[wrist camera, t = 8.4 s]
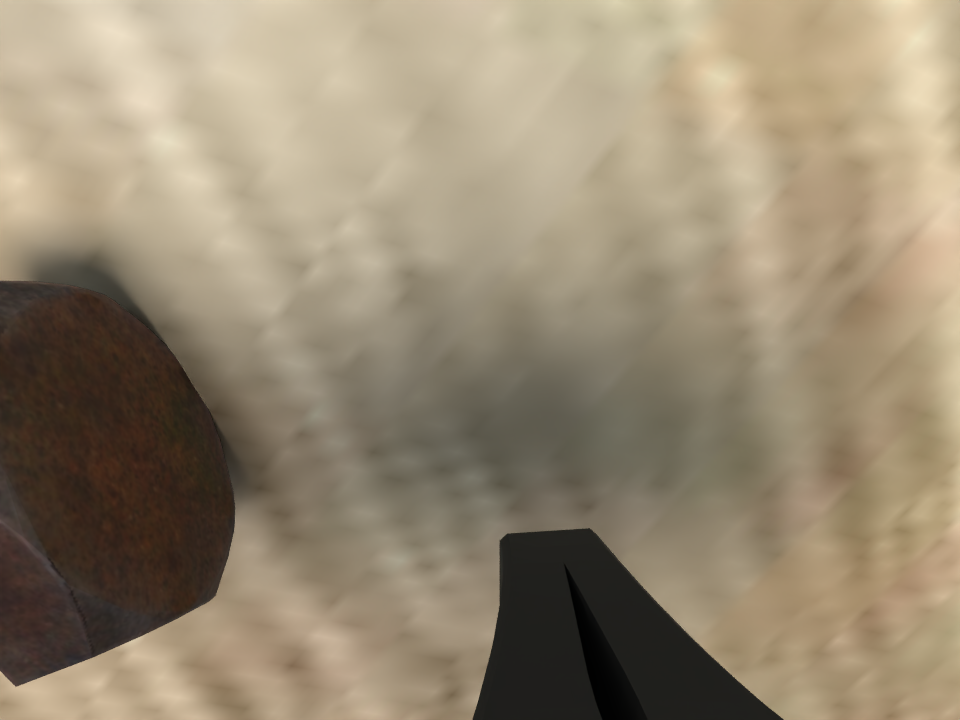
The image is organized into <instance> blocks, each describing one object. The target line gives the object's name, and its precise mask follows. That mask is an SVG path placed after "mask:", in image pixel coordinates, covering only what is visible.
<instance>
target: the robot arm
mask: <svg viewBox="0 0 960 720" xmlns="http://www.w3.org/2000/svg"><path fill="white" fill-rule="evenodd" d="M473 720H783V719H782V718H781V717H780V716H778V715H777V714H776V713H775V712H773V711H772V710H771V709H770V708H768V707H767V706H766V705H765V704H764V703H763V702H761V701H760V700H759V699H758V698H757V697H755V696H754V695H753V694H752V693H751V692H750V691H749V690H747V689H746V688H745V687H744V686H743V685H742V684H741V683H739V682H738V681H737V680H736V679H735V678H734V677H733V676H732V675H731V674H730V673H729V672H727V671H726V670H725V669H724V668H723V667H722V666H721V665H720V664H719V663H718V662H717V661H715V660H714V659H713V658H712V657H711V656H710V655H709V654H708V653H707V652H706V651H705V650H704V649H703V648H702V647H701V646H700V645H699V644H698V643H697V642H696V641H694V640H693V639H692V638H691V637H690V636H689V635H688V634H687V633H686V632H685V631H684V630H683V629H682V627H681V626H680V625H679V624H678V623H677V622H676V621H675V620H674V619H673V618H672V617H671V616H670V615H669V614H668V613H667V612H666V611H665V610H664V609H663V608H662V607H661V606H660V605H659V604H658V603H657V602H656V601H655V600H654V599H653V598H652V597H651V595H650V594H649V593H648V592H647V591H646V590H645V589H644V588H643V587H642V586H641V585H640V583H639V582H638V581H637V580H636V579H635V578H634V577H633V576H632V575H631V574H630V572H629V571H628V570H627V569H626V568H625V567H624V566H623V565H622V563H621V562H620V561H619V560H618V559H617V558H616V556H615V555H614V554H613V553H612V552H611V551H610V550H609V548H608V547H607V546H606V545H605V544H604V543H603V541H602V540H601V539H600V538H599V537H598V536H597V534H595V533H594V532H593V531H592V530H591V529H590V528H588V529H573V530H557V531H542V532H527V533H511V534H507V535H506V536H504V537H503V538H502V539H501V540H500V606H499V612H498V618H497V624H496V629H495V635H494V641H493V645H492V650H491V654H490V658H489V662H488V666H487V669H486V673H485V677H484V681H483V685H482V689H481V693H480V697H479V700H478V703H477V707H476V710H475V713H474V717H473Z"/></svg>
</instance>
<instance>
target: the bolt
mask: <svg viewBox="0 0 960 720" xmlns="http://www.w3.org/2000/svg"><path fill="white" fill-rule="evenodd" d="M234 524H235V503H234V493H233V488H232V485H231V481H230V477H229V473H228V469H227V465H226V461H225V457H224V453H223V449H222V445H221V442H220V439H219V436H218V434H217V431H216V428H215V426H214V423H213V420H212V418H211V415H210V412H209V410H208V408H207V407H206V405H205V404H204V402H203V400H202V399H201V397H200V396H199V394H198V393H197V391H196V390H195V388H194V387H193V385H192V384H191V382H190V380H189V378H188V377H187V375H186V373H185V371H184V370H183V368H182V366H181V365H180V363H179V362H178V360H177V359H176V357H175V356H174V355H173V354H172V352H171V351H170V350H169V348H168V347H167V346H166V345H165V344H164V343H163V342H162V341H161V340H160V339H159V338H158V337H157V336H156V335H155V334H154V333H153V332H152V331H151V330H150V329H148V328H147V327H146V326H145V325H144V324H143V323H141V322H140V321H139V320H138V319H136V318H135V317H134V316H133V315H131V314H130V313H129V312H128V311H126V310H125V309H124V308H123V307H121V306H120V305H119V304H118V303H116V302H115V301H114V300H112V299H111V298H109V297H107V296H106V295H103V294H100V293H97V292H94V291H91V290H88V289H84V288H80V287H75V286H71V285H64V284H54V283H44V282H34V281H0V671H1V672H2V673H3V674H4V675H5V676H6V677H7V678H8V679H9V680H10V681H11V682H12V683H13V684H14V685H15V686H19V685H22V684H24V683H27V682H29V681H32V680H35V679H37V678H40V677H43V676H45V675H48V674H51V673H53V672H56V671H58V670H61V669H64V668H66V667H69V666H72V665H74V664H77V663H79V662H82V661H85V660H87V659H90V658H93V657H95V656H97V655H99V654H102V653H104V652H106V651H108V650H111V649H113V648H115V647H118V646H120V645H122V644H124V643H127V642H129V641H131V640H133V639H136V638H138V637H140V636H142V635H144V634H146V633H149V632H151V631H153V630H155V629H157V628H159V627H161V626H163V625H165V624H167V623H169V622H171V621H173V620H175V619H177V618H179V617H181V616H183V615H185V614H186V613H188V612H190V611H192V610H194V609H196V608H198V607H199V606H201V605H203V604H205V603H207V602H209V601H210V600H211V599H212V598H213V597H215V596H216V593H217V590H218V587H219V583H220V580H221V577H222V574H223V571H224V568H225V565H226V562H227V559H228V556H229V551H230V546H231V542H232V537H233V533H234Z"/></svg>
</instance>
